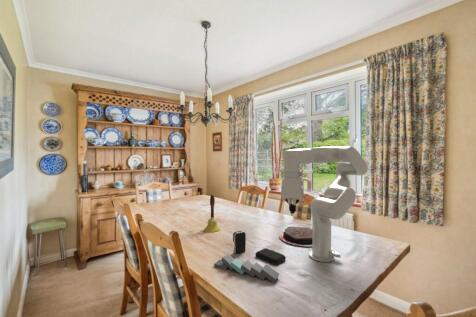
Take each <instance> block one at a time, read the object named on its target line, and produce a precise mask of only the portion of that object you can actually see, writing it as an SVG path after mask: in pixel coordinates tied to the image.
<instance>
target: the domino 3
mask: <svg viewBox="0 0 476 317" xmlns="http://www.w3.org/2000/svg"><path fill="white" fill-rule="evenodd" d="M234 259H235V260H234V261H232V262H231V265H230V266H231V267H232V268H234V269H233V270H235V271H237V272H238V273H239V274H240V275H242V276H243V275H244V274H245V273H246V272H245V271H244V270H242V269H241V265H242V264H243V263H244V262H243V261H241V260H240V259H239V258H237V257H236V258H234Z"/></svg>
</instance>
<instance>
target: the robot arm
mask: <svg viewBox="0 0 476 317" xmlns="http://www.w3.org/2000/svg"><path fill="white" fill-rule="evenodd" d="M313 163H314V164H325V163H327V164H328V163H336V166H335V174H336V175H335V176H336V177H335V179H334V180H333V181H332V182H331V183H330V185H328V187H326V189H325V190H324V193H323V197H321V196H318V197H314V198H313V199H312V200H311V201H310V212H311V213H310V214H311V218H312V219H311V220H312V223H311V224H312V226H311V227H312V228H311V229H312V247H311V251H309V253H308V255H309V257H310V258H311V259H312V260H314V261H317V262H322V263H331V262H333V261H334V260H335V258H341V253H339V252H338V251H334V250H333V247H332V221H331V220H336V221H339V220H341V219H343V217H344V216H345V215H346V214H347V213H348V211H349V210H350V209H351V208H352V207H353V206H354V204H355V202H356V199H357V195H356V194H357V193H356V191H355V189H353V188H352V187H351V181H350V179H349V175H350V176H364V175H366V174H367V172H368V163H367V162H366V160H365V159H364V158H363V156H362V155H361V153H360V152H359V151H358V150H357V149H356V148H355V147H353V146H351V145H345V146H344V145H341V146H340V145H339V146H338V145H337V146H336V145H335V146H320V147H319V146H318V147H309V148H292V149H285V150H283V177H282V180H281V187H280V188H281V189H280V190H281V191H280V193H281V194H280V196H281V198H280V199H281V200H282V201H284V202H286V203H287V204H288V211H289V212H290V214H295V212H297V204H298V203H302V202H304V201H305V199H304V196H305V195H304V194H305V193H304V184H303V183H304V182H303V178H302V176H304V173H303V172H301V171H300V170H301V168H300V166H301V164H303V165H309V164H313ZM292 200H293V202H292Z"/></svg>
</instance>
